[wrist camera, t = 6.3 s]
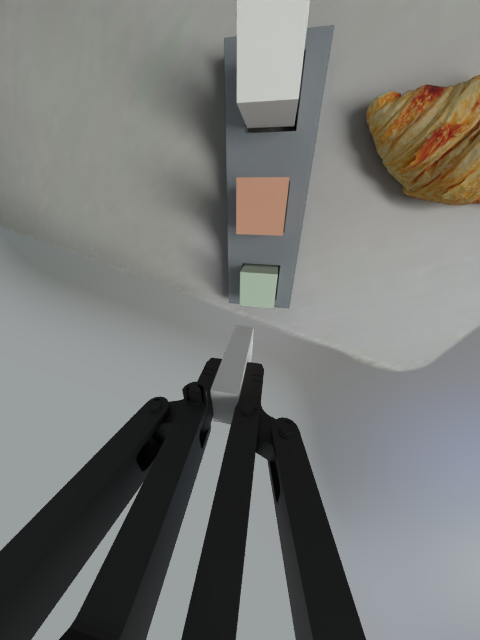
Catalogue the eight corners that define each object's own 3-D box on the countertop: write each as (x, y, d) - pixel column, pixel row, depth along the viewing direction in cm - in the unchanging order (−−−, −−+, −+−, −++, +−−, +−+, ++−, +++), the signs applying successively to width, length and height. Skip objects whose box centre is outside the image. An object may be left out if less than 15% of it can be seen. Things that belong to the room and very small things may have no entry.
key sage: (246, 261, 31) (240, 271, 26) (278, 263, 30) (277, 274, 25) (245, 290, 34) (239, 305, 29) (274, 292, 33) (273, 308, 28)
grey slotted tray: (229, 55, 21) (224, 38, 18) (328, 45, 19) (334, 25, 17) (231, 297, 35) (228, 302, 33) (288, 301, 33) (289, 308, 31)
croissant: (339, 153, 26) (334, 179, 21) (412, 13, 17) (427, 13, 13) (487, 213, 26) (511, 251, 21) (637, 104, 17) (723, 133, 13)
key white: (248, 57, 19) (237, 0, 13) (302, 51, 18) (311, -11, 13) (247, 128, 21) (236, 102, 16) (294, 126, 20) (298, 98, 15)
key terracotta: (245, 183, 24) (236, 177, 19) (287, 183, 23) (289, 177, 18) (244, 228, 26) (236, 234, 21) (282, 230, 25) (282, 235, 20)
